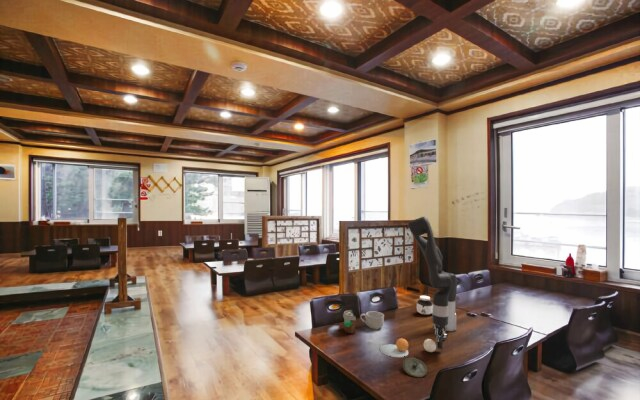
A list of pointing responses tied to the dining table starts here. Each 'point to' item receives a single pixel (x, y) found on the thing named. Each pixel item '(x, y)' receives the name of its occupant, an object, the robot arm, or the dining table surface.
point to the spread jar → (424, 306)
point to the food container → (349, 321)
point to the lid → (414, 367)
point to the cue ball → (429, 345)
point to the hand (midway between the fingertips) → (439, 348)
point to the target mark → (393, 351)
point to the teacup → (373, 319)
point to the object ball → (402, 344)
